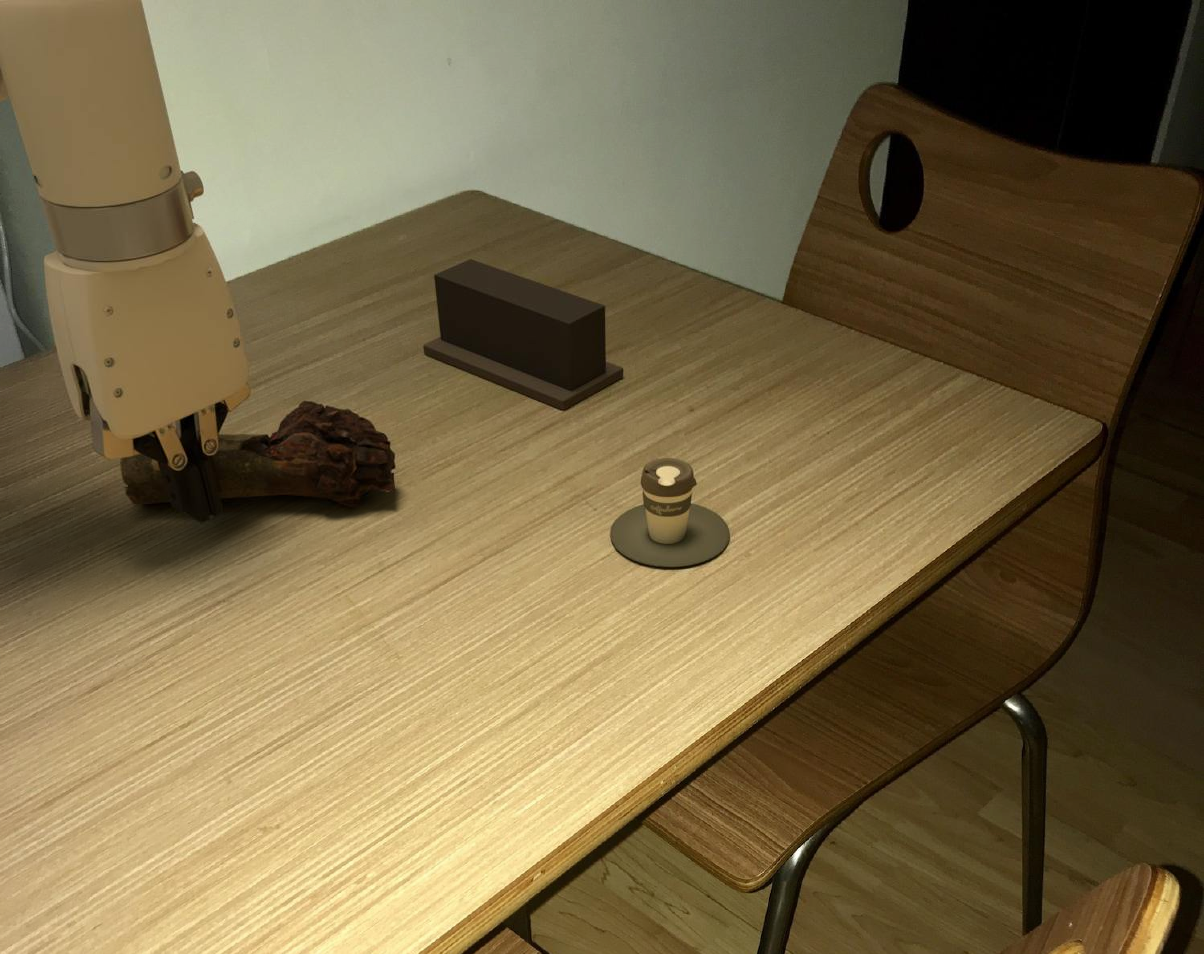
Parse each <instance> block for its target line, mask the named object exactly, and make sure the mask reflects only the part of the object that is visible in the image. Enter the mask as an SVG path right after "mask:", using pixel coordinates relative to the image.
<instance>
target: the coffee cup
mask: <svg viewBox="0 0 1204 954" xmlns="http://www.w3.org/2000/svg"><path fill="white" fill-rule="evenodd" d="M697 484H698V483H697V479H696V478H695V475H694V469H693V467H692V466H691V464H690V463H688V462H687V461H684V460H682V459H679V458H675V457H663V458H657V459H653V460H651V461H649V462H647V463H646V464H645V465H644V466H643V469H642V472H641V478H640V486H641V488H642V502H643V504H640V505H637V506H634V507H632V508H630V509H628V510H626V511H624V512H623V513H622V514H620V515H619V516H618V517H617V518H615V520H614V522H613V523H612V525H611V526H610V532H609V536H610V541H611V542H612V545H613V547H614V548H615V550H616V551H617V552H618V553H619V554H620V555H621V556H622V557H624V558H626V559H628V560H630V561H632V562H635V563H637V564H641V565H643V566H649V567H656V568H662V569H667V568H668V569H673V568H676V569H677V568H687V567H688V568H689V567H693V566H697V565H701V564H704V563H706V562H708V561H710V560H713V559H714V558H716V557H717V556H719V555H720V554H721V553H722V552H723V551H724V550H725V548H726V547H727V546H728V544H729V541H730V537H731V536H730V533H731V532H730V529H729V526H728V523H727V522H726V520H725V519H724V518H722V516H720V515H719V514H718V513H717V512H715V511H713V510H711V509H710V508H708V507H705V506H702V505H700V504H696V503H692V497H693V488H694V487H696V486H697Z"/></svg>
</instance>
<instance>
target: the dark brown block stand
mask: <svg viewBox="0 0 1204 954" xmlns="http://www.w3.org/2000/svg"><path fill="white" fill-rule="evenodd" d="M433 277H434V287H435V297H436V308H437V316H438V325H439V334H440V335H439V337H437V338H434V339H432V340H431V341H428V342H426V343H424V344H423V345H422V346H423V347H422V348H423V354H424V355H425V356H429V357H431V358H433V359H436V360H439V361H440V362H443V363H445V364H448V365H450V366H453V367H455V368H458V369H460V370H463V371H465V372H468V373H470V374H473V375H475V376H478V377H480V378H483V379H485V380H487V381H490V382H493V383H494V384H497V385H500V386H502V387H504V388H507V389H509V390H512V391H515V392H517V393H519V394H522V395H524V396H527V397H529V398H532V399H534V400H537V401H539V402H541V403H544V404H546V405H549V406H552V407H554V408H556V409H559V410H562V411H565V410H567V409H569V408H571V407H573V406H574V405H576V404H578V403H580V402H581V401H583V400H584V399H587V398H588V397H591V396H593V395H594V394H596V393H597V392H599V391H601V390H603V389H605V388H606V387H608V386H610V385H611V384H613V383H615V382H617V381H619V380H620V379H623V378H624V367H622V366H619V365H617V364H613V363H611V362H609V361H607V353H606V352H607V351H606V350H607V348H606V347H607V345H606V342H607V341H606V340H607V339H606V305H604V304H601V303H598V302H597V301H596V302H595V301H592V300H590V299H587V298H584V297H582V296H578V295H575V294H572V293H570V292H567V291H564V290H561V289H558V288H555V287H553V286H550V285H546V284H544V283H541V282H539V281H535V280H532V279H529V278H526V277H525V276H524V277H523V276H521V275H518V274H515V273H512V272H509V271H506V270H504V269H500V268H497V267H495V266H492V265H490V264H486V263H483V262H481V261H477V260H474V259H473V258H469V259H466V260H464V261H462V262H460V263H458V264H456V265H453V266H450V267H449V268H446V269H443V270H442V271H439V272H437V273H435V274H434V275H433Z"/></svg>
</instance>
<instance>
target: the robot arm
mask: <svg viewBox="0 0 1204 954" xmlns="http://www.w3.org/2000/svg"><path fill="white" fill-rule="evenodd" d="M152 43H153V42H152V39H151V35H150V30H149V27H148V22H147V17H146V14H145V8H144V5H143V1H142V0H0V102H1V103H2V102H4V101H5V100H8V99H9V101H10V104H11V109H12V112H13V114H14V117H15V119H16V123H17V127H18V130H19V133H20V136H21V140H22V143H23V146H24V149H25V153H26V156H27V160H28V162H29V165H30V168H31V172H32V175H33V178H34V182H35V185H36V188H37V191H38V197H39V199H40V203H41V206H42V209H43V213H44V215H45V218H46V222H47V226H48V228H49V232H50V235H51V238H52V240H53V242H52V243H53V244H54V247H55V251H53V252H50V253H48V254H46V255H45V256H44V257H43V268H44V281H45V290H46V291H45V292H46V300H47V306H48V313H49V319H50V324H51V329H52V335H53V339H54V344H55V347H56V352H57V356H58V361H59V365H60V369H61V372H62V376H63V377H62V378H63V380H64V383H65V387H66V391H67V394H68V397H69V401H70V403H71V406H72V408H73V411H74V412H75V414H76V415H77V417H79V418H80V419H82V420H83V421H90V427H91V428H90V429H91V441H92V449H93V451H94V452H95V453H96V454H97V455H100V456H102V457H103V458H105V459H107V460H109V461H114V460H120V458H126V457H131V456H134V455H137V454H143V455H145V456H147V457H149V458H151V459H153V460H155V461H157V462H158V466H159V469H160V473H161V476H162V480H163V483H164V487H165V490H166V493H167V497H168V500H169V502H168V503H169V504H170V506H172V508H174V509H175V510H177V511H179V512H181V513H183V514H185V515H186V516H188V517H190V518H192V519H193V520H195V521H197V522H198V523H200V524H203V523H206V522H207V521H209V520H210V518H211V517H212V516H214V517H217V516H219V515H221V514H223V513H224V508H223V504H222V500H221V499H220V496H219V493H220V492H221V486H220V482H219V478H218V474H217V470H216V466H215V462H214V458H213V455H214V454H215V453H216V452H217V450H218V448H219V441H218V434H220V432H221V429H222V427H223V425H224V423H225V421H226V418H227V417H228V413H229V412H230V413H232V412H233V411H234V410H235V409H237V408H238V407H239V406H240V405H242V404H243V403H244V402H245V401H246V400H248V398H249V397H250V396H251V392H252V391H251V387H250V385H249V382H248V380H249V376H250V369H249V368H250V367H249V361H248V353H247V349H246V345H245V341H244V337H243V333H242V329H241V325H240V321H239V318H238V315H237V314H238V313H237V311H236V307H235V305H234V301H233V299H232V296H231V293H230V289H229V286H228V284H227V281H226V279H225V276H224V273H223V270H222V268H221V265H220V263H219V261H218V258H217V255H216V254H215V251H214V249H213V247H212V245H211V243H210V241H209V238H208V236H207V234H206V232H205V230H204V229H203V227H202V226H201V225H200V224H198V223H196V222H194V219H195V216H194V211H193V207H192V202H193V201H194V200H195V198H198V197H201V196H203V195H204V192H205V191H204V184H203V181H202V179H201V177H200V175H199V174H198V173H197V172H196V171H194V170H190V171H187V172H184V171H183V170H182V169H181V166H180V165H181V164H180V161H179V157H178V153H177V148H176V144H175V140H174V135H173V131H172V125H171V121H170V117H169V114H168V109H167V103H166V100H165V95H164V92H163V87H162V83H161V79H160V73H159V69H158V65H157V61H156V57H155V51H154V49H153V44H152ZM174 424H175V425H174Z"/></svg>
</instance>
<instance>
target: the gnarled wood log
mask: <svg viewBox="0 0 1204 954" xmlns="http://www.w3.org/2000/svg"><path fill="white" fill-rule="evenodd" d="M218 441H219V448H218V450H217V452H216V453H215V454H214V455H213V458H214V462H215V466H216V470H217V474H218V478H219V482H220V486H221V492H220V493H219V496H220V500H221V499H232V498H247V497H263V496H264V497H265V496H266V497H267V496H295V497H311V498H315V499H316V498H317V499H321V500H322V499H323V500H324V499H327V500H331V501H334V502H335V503H338V504H342V505H344V506H347V507H349V508H352V509H353V508H354V509H357V508H358V507H359V505H360V499H361V497H362V495H363V494H365V493H368V492H369V491H375V490H377V489H378V490H379V491H381V492H392V491H395V490H396V485H395V483H396V482H395V472H392V471H393V470H395V469H396V463H395V460H396V454H395V452H394V451H393V450H392V448H391V444H392V443H391V441H390V440H389V437H388V436H387V435H386V433H384V432H381V431H378V430H377V429H376V427H375V425H374V424H373V422H372V421H371V420H369V419H367V418H365V417H363V416H360V415H359V414H358V413H356V412H354V411H352V410H351V409H350V408H347V409H346V408H344V409H343V408H339V407H334V406H330V405H327V404H326V405H325V406H324V405H323V404H322V403H316V402H314V401H312V400H306V399H305V400H303V401H301V402H300V403H299V404H298V406H297V407H295V408H294V409H293V410H291V411H290V412H289V413H288V414H286V415H285V416H284V418H283V419H282V420H281V421H280V423H279V426H278V429H277V431H274V432H272V433H271V435H270V436H269V434H268V433H265V434H258V433H257V434H256V433H255V434H251V433H250V434H249V433H246V434H244V433H241V434H240V433H238V434H235V433H233V434H231V433H230V434H228V433H227V434H226V433H225V434H223V433H222V434H221V433H219V434H218ZM119 466H120V467H119V468H120V474H121V478H122V479H121V480H122V482H123V484H124V485H126V486H124V487H123V489H124V491H125V495H126V496H127V497H128V498H129V500H130V502H131V503H132V504H133V505H151V504H161V503H163V504H164V503H170V502H169V500H168V497H167V493H166V490H165V487H164V483H163V480H162V476H161V473H160V469H159V466H158V462H157V461H155V460H153V459H151V458H149V457H147V456H145V455H143V454H137V455H134V456H131V457H126V458H120V459H119Z"/></svg>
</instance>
